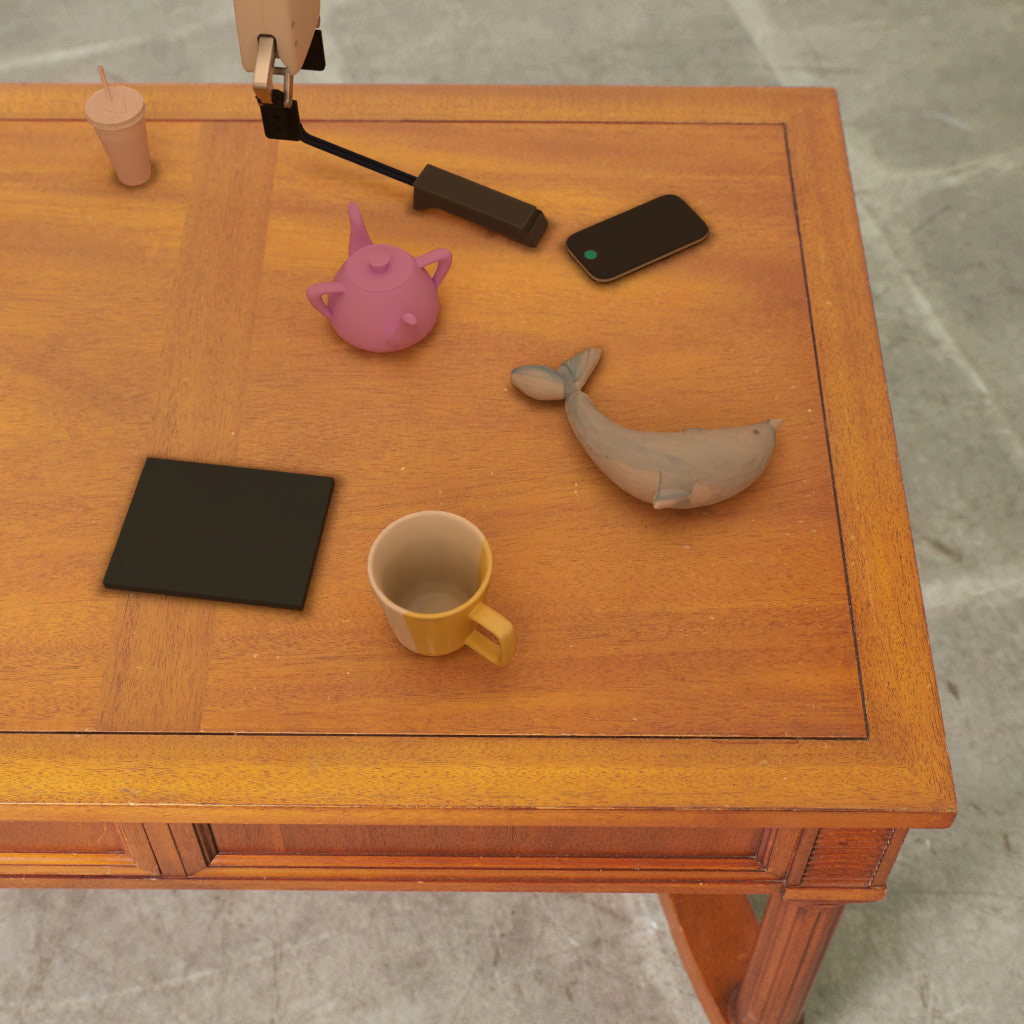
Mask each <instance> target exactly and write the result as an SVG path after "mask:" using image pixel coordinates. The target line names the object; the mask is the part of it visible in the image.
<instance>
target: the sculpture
mask: <svg viewBox="0 0 1024 1024" xmlns="http://www.w3.org/2000/svg"><path fill="white" fill-rule="evenodd" d="M602 354H603V349H601V348H599V347H590V348H587V349H584V350H583V351H581V352H579V353H577V354H575V355H573V357H571V358H568V359H567V360H565V361H564V362H562V364H560V366H559V367H558V368H557V369H556V370H555V369H554V368H553V367H550V366H548V365H545V364H526V365H521V366H517V367H514V368H513V369H512V370H511V371H510V376H509V377H510V383H512V385H514V386H515V387H516V388H517V389H519V390H520V391H521V392H522V393H523V394H524V395H526V396H527V397H530V398H532V399H534V400H538V401H559V400H560V401H561V400H565V402H564V408H565V409H564V411H565V415H566V417H567V420H568V423H569V425H570V428H571V431H572V433H573V435H574V436H575V439H576V440H577V442H578V443H579V444H580V445H581V446H582V448H583V450H584V452H585V454H586V455H587V456H588V457H589V459H590V460H591V461H592V462H593V463H594V465H595V466H596V467H597V468H598V469H599V471H601V473H603V474H604V475H605V476H606V477H607V478H608V479H609V480H610V481H612V482H613V484H614V485H615V486H617V487H618V488H620V489H621V490H622V491H624V492H625V493H627V494H629V496H632V497H633V498H635V499H637V500H639V501H643V502H644V503H647V504H651V505H652V507H653V508H654V509H655V510H662V509H677V510H678V509H679V510H689V509H694V508H695V509H696V508H699V507H705V506H710V505H715V504H719V503H720V502H724V501H726V500H728V499H730V498H732V497H734V496H736V495H738V494H740V493H742V492H743V491H745V490H746V489H747V488H748V487H750V486H751V485H752V484H753V483H755V482H756V481H757V480H759V478H760V477H761V476H762V475H763V473H764V472H765V470H766V468H767V467H768V465H769V463H770V460H771V458H772V456H773V454H774V453H775V452H774V451H775V448H776V444H777V431H778V430H779V429H780V427H781V426H782V425H783V424H784V420H783V419H782V418H776V417H774V418H769V419H767V420H765V421H763V422H759V423H754V424H749V425H741V426H729V427H728V426H727V427H721V428H712V429H704V428H702V427H691V428H690V427H689V428H684V429H683V430H681V431H645V430H637V429H632V428H628V427H625V426H623V425H621V424H618V423H617V422H615V421H613V420H612V419H610V418H609V417H607V416H606V415H605V414H603V412H601V411H600V410H599V409H598V407H597V406H596V405H595V404H594V403H593V401H592V400H591V398H590V396H589V395H588V394H587V393H585V392H584V391H582V390H583V387H584V386H585V385H586V383H587V381H589V378H590V377H591V375H592V374H593V372H594V371H595V368H596V366H597V365H598V364H599V362H600V359H601V356H602Z"/></svg>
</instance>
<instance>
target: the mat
mask: <svg viewBox="0 0 1024 1024" xmlns="http://www.w3.org/2000/svg"><path fill="white" fill-rule="evenodd" d="M335 484H336V482H335V477H333V476H326V475H325V476H324V475H318V474H317V475H316V474H307V473H297V472H288V471H280V470H271V469H270V470H269V469H260V468H253V467H243V466H234V465H225V464H215V463H205V462H197V461H196V462H195V461H187V460H180V459H179V460H178V459H170V458H169V459H168V458H161V457H151V456H150V457H149V456H147V457H146V460H145V463H144V465H143V468H142V470H141V474H140V475H139V479H138V481H137V484H136V487H135V489H134V490H135V491H134V493H133V495H132V499H131V502H130V504H129V507H128V510H127V513H126V515H125V518H124V520H123V523H122V527H121V529H120V532H119V536H118V537H117V540H116V543H115V546H114V549H113V552H112V555H111V558H110V560H109V563H108V565H107V569H106V570H105V574H104V577H103V580H102V585H103V587H104V588H105V589H110V590H119V591H128V592H137V593H145V594H154V595H164V596H173V597H179V598H190V599H198V600H206V601H213V602H214V601H215V602H223V603H231V604H239V605H240V604H241V605H249V606H257V607H258V606H259V607H265V608H275V609H283V610H284V609H285V610H293V611H300V612H303V611H304V608H305V605H306V600H307V595H308V592H309V588H310V584H311V579H312V577H313V572H314V568H315V564H316V560H317V556H318V552H319V549H320V544H321V541H322V536H323V533H324V532H323V531H324V528H325V526H326V520H327V516H328V513H329V508H330V504H331V500H332V497H333V492H334V489H335Z"/></svg>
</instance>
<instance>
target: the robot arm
mask: <svg viewBox="0 0 1024 1024" xmlns="http://www.w3.org/2000/svg"><path fill="white" fill-rule="evenodd" d="M232 2H233V9H234V18H235V25H236V33H237V40H238V47H239V54H240V59H241V60H240V61H241V65H242V68H243V70H244V71H245V72H246V73H253V78H252V90H253V92H254V94H255V95H254V97H255V99H256V102H257V105H258V106H259V110H260V116H261V120H262V125H263V132H264V136H265V137H266V138H267V139H268V140H278V141H289V142H300V141H301V138H302V130H301V123H302V122H301V118H300V111H299V105H298V100H297V99H293V98H294V76H295V75H297V74H298V73H299V72H300V71H301V70H304V71H313V72H323V71H325V69H326V66H327V64H326V63H327V61H326V56H325V46H324V40H323V32H322V29H320V27H321V15H320V14H321V0H233V1H232ZM276 59H277V60H279V59H280V61H281V62H282V64H283V65H284V67H283V66H275V63H276ZM274 75H275V76H283V91H282V90H281V89H279V88H275V85H274V82H273V79H274V78H273V77H274Z"/></svg>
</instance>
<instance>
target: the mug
mask: <svg viewBox="0 0 1024 1024" xmlns="http://www.w3.org/2000/svg"><path fill="white" fill-rule="evenodd" d="M368 552H369V553H368V555H367V563H366V570H367V577H368V580H369V584H370V587H371V589H372V591H373V593H374V596H375V598H376V600H377V601H378V603H379V606H380V608H381V610H382V612H383V613H384V616H385V617H386V620H387V622H388V624H389V626H390V629H391V630H392V632H393V634H394V636H395V639H397V640H398V642H399V643H400V644H401V645H402V646H404V647H405V649H408V650H409V651H410V652H414V653H416V654H419V655H422V656H423V655H424V656H429V657H430V656H432V657H433V656H434V657H436V656H437V657H439V656H443V655H449V654H451V653H454V652H455V651H458V650H460V649H461V648H463V647H464V646H467V647H468V648H470V649H471V650H473V651H474V652H475V653H477V654H479V655H480V656H482V657H483V658H484V659H486V660H487V661H489V662H490V663H492V664H494V665H495V666H497V667H500V668H501V667H502V668H503V667H505V666H507V665H508V664H509V663H510V662H511V661H512V659H513V658H514V656H515V653H516V650H517V649H516V648H517V636H516V635H517V634H516V630H515V627H514V625H513V624H512V622H511V621H509V619H507V618H506V617H505V616H503V615H502V614H501V613H499V612H498V611H496V610H495V609H494V608H492V607H491V606H489V605H488V604H486V603H485V602H486V599H487V596H488V591H489V588H490V585H491V581H492V574H493V570H494V569H493V568H494V558H493V553H492V548H491V545H490V543H489V540H488V539H487V537H486V535H485V534H484V533H483V531H482V530H481V529H480V528H479V527H477V526H476V525H475V523H473V522H472V521H470V520H469V519H467V518H466V517H463V516H461V515H459V514H457V513H452V512H449V511H444V510H421V511H416V512H412V513H408V514H406V515H404V516H400V517H399V518H396V520H394V521H392V522H391V523H389V524H388V525H386V527H384V528H383V529H382V530H381V532H379V534H378V535H377V537H376V538H375V540H374V541H373V543H372V545H371V547H370V549H369V551H368ZM479 625H480V626H482V628H484V629H485V630H487V631H488V632H490V633H491V634H492V635H493V636H494V637H496V638H497V640H498V642H499V645H498V644H497V643H496V642H494V641H492V640H491V639H490V638H488V637H487V636H485V634H484V633H481V632H480V631H479V630H478V629H479Z"/></svg>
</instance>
